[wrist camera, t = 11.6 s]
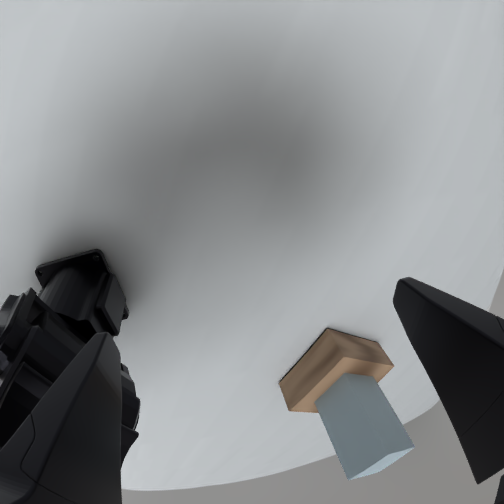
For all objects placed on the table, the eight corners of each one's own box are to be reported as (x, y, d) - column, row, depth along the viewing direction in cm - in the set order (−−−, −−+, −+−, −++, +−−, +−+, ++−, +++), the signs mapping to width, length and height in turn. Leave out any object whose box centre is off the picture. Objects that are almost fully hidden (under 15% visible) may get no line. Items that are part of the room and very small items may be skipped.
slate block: (314, 401, 28) (348, 480, 20) (344, 372, 27) (388, 454, 18) (344, 403, 30) (378, 472, 22) (373, 376, 29) (415, 446, 20)
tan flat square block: (278, 383, 31) (288, 411, 28) (327, 328, 29) (343, 356, 25) (332, 390, 35) (344, 413, 32) (378, 342, 32) (394, 366, 29)
